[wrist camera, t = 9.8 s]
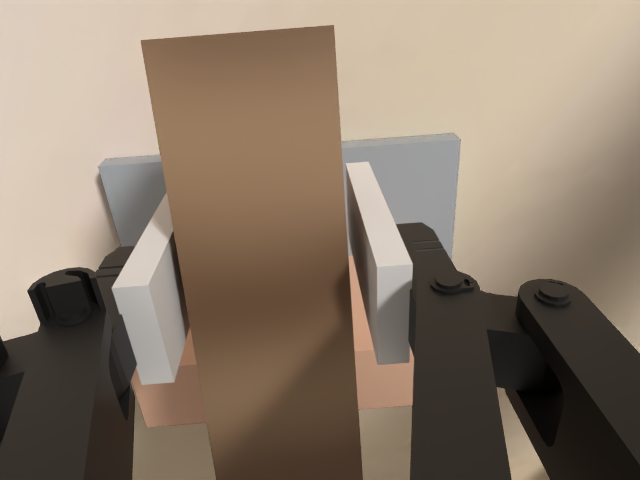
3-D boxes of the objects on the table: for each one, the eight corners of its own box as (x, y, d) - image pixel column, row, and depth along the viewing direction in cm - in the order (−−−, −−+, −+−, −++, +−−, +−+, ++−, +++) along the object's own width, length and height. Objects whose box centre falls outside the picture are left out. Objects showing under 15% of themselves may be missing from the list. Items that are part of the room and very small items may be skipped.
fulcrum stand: (454, 133, 23) (528, 203, 16) (437, 363, 29) (484, 486, 22) (105, 158, 22) (20, 242, 15) (168, 386, 29) (129, 517, 22)
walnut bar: (362, 616, 22) (380, 762, 17) (274, 625, 22) (267, 774, 17) (322, 45, 15) (333, 25, 10) (191, 55, 15) (140, 40, 10)
